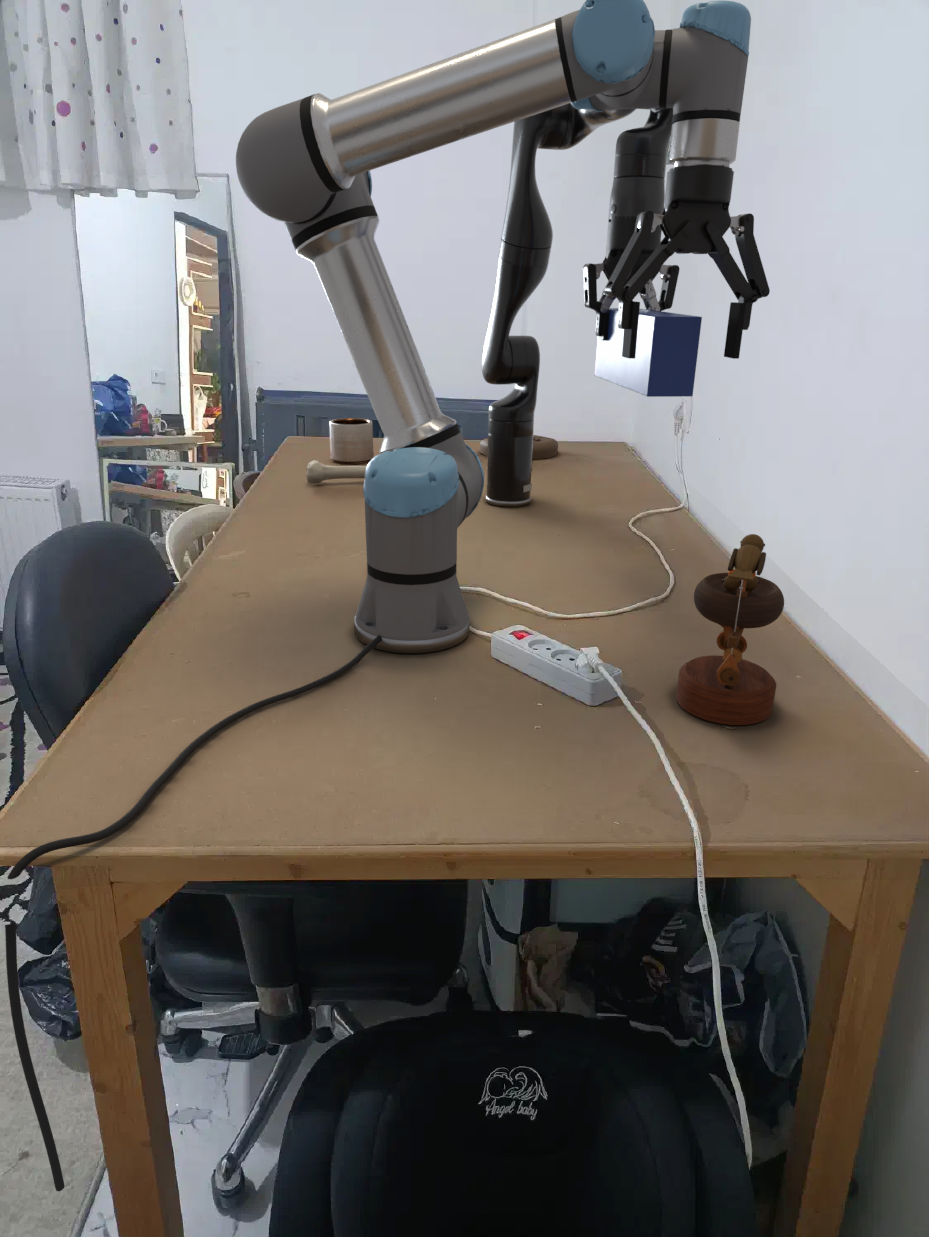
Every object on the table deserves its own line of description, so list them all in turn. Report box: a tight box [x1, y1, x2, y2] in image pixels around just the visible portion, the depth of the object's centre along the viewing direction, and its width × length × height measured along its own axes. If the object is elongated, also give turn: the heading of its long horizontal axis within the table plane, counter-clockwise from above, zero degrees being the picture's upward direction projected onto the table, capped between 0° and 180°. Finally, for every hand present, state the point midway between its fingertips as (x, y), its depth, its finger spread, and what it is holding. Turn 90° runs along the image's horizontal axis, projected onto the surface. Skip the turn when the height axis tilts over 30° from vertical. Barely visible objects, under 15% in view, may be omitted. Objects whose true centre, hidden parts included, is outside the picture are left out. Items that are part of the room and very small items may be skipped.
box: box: [594, 307, 703, 398], centre depth 118 cm, size 23×6×10 cm, turn 9°
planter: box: [328, 417, 375, 464], centre depth 212 cm, size 11×11×10 cm
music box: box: [675, 533, 785, 726], centre depth 92 cm, size 15×11×20 cm
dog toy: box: [305, 459, 367, 484], centre depth 190 cm, size 20×6×5 cm, turn 99°
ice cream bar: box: [479, 434, 559, 460], centre depth 219 cm, size 21×28×4 cm
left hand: (680, 358), depth 106 cm, fingers open, 13 cm apart
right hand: (625, 340), depth 125 cm, fingers closed on box, 6 cm apart
